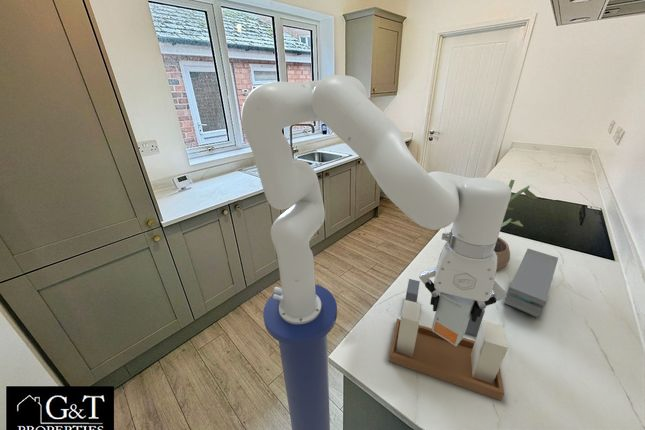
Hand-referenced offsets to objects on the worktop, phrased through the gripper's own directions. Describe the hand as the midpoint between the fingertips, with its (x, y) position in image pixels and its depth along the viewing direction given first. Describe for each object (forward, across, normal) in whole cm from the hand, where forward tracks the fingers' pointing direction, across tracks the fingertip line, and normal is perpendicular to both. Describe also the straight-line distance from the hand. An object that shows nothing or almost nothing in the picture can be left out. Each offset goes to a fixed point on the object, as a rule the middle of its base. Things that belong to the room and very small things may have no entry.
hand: (453, 311), depth 57 cm
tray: (+16, 0, 0) cm, 16 cm away
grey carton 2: (+16, +7, +13) cm, 22 cm away
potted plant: (+16, +15, +51) cm, 55 cm away
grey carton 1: (+16, -9, +13) cm, 22 cm away
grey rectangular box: (+16, +23, +30) cm, 41 cm away
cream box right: (+15, +8, 0) cm, 17 cm away
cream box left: (+15, -9, 0) cm, 17 cm away
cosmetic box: (+7, 0, 0) cm, 7 cm away
